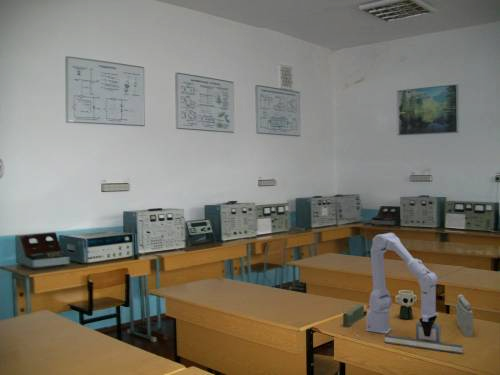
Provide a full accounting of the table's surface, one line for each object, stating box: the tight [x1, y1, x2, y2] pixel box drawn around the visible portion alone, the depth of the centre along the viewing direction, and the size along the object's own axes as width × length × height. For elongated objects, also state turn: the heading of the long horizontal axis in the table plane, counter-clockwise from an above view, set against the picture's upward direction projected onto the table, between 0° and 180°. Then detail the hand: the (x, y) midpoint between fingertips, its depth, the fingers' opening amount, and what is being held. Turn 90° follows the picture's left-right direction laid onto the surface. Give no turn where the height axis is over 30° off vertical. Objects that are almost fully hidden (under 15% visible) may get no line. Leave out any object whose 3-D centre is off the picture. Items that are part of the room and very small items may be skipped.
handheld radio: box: [342, 303, 368, 328], centre depth 251 cm, size 7×3×25 cm
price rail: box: [384, 334, 464, 355], centre depth 211 cm, size 30×2×3 cm, turn 61°
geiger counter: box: [454, 294, 475, 338], centre depth 236 cm, size 14×6×25 cm
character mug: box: [394, 289, 418, 320], centre depth 253 cm, size 11×7×13 cm, turn 98°
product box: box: [415, 320, 442, 342], centre depth 216 cm, size 4×9×7 cm, turn 61°
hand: (428, 334), depth 217 cm, fingers closed on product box, 4 cm apart
